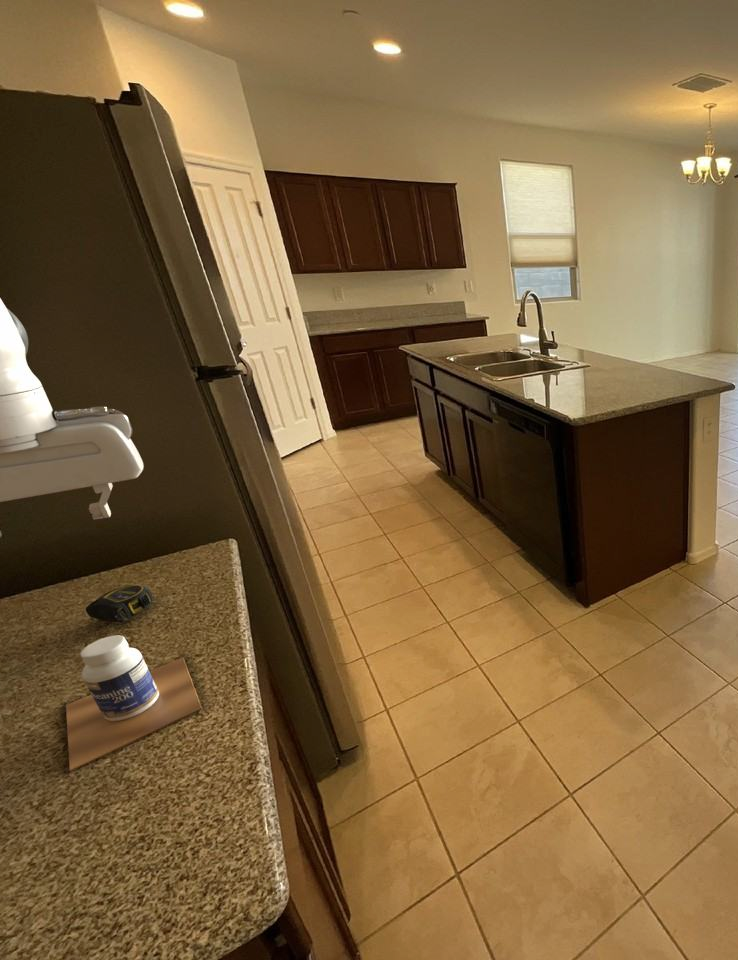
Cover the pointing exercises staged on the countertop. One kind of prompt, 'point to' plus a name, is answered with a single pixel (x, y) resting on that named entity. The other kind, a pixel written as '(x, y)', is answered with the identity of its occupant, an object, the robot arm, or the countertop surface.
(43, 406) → the robot arm
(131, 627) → the countertop surface
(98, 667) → the pill bottle
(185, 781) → the countertop surface
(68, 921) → the countertop surface
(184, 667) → the wooden board
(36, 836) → the countertop surface
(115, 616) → the tape measure
